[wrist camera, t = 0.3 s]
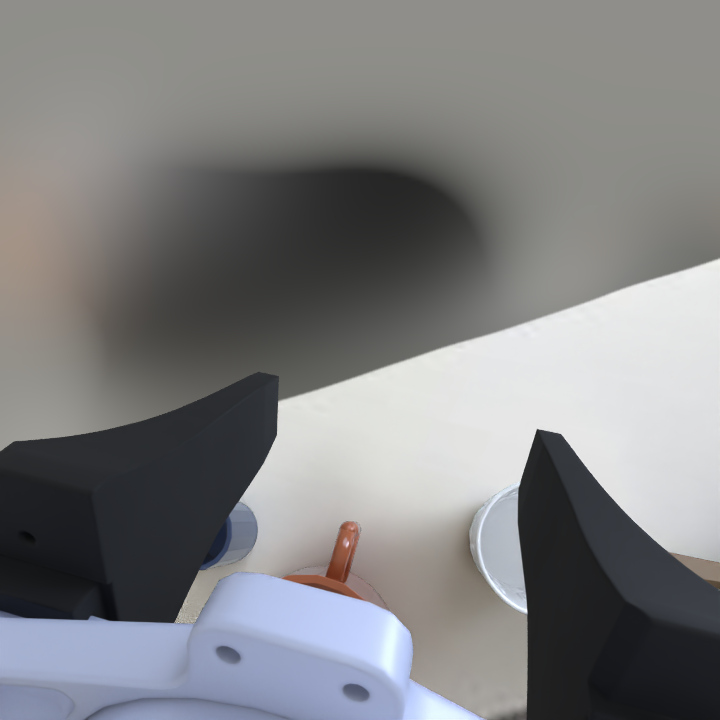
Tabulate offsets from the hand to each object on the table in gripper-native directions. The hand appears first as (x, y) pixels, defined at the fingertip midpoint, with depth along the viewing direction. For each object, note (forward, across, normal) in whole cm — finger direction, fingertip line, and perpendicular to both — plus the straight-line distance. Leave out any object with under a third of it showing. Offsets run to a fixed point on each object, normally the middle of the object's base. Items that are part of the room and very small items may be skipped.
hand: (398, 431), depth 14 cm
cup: (+17, +14, +25) cm, 33 cm away
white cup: (+20, -9, +22) cm, 31 cm away
